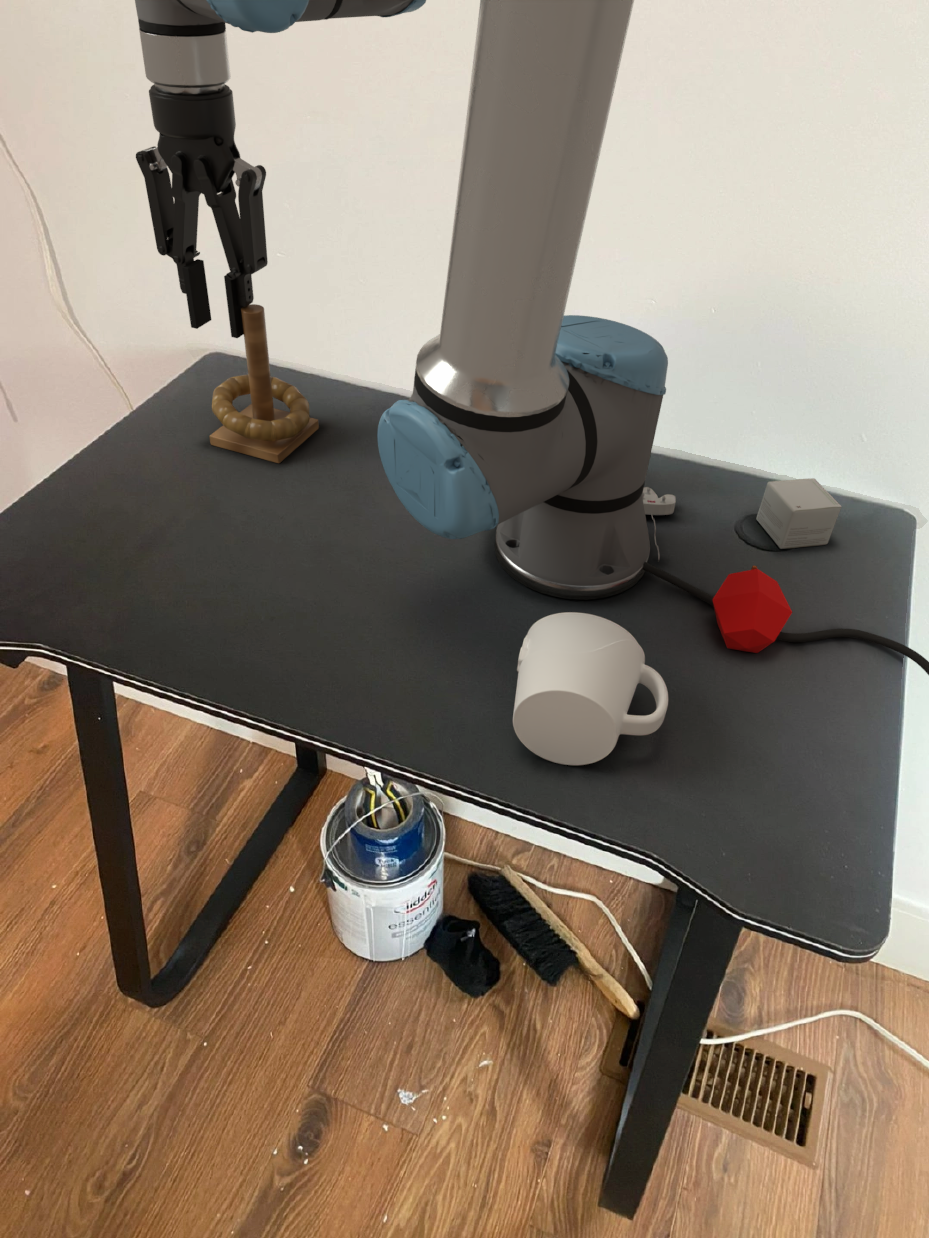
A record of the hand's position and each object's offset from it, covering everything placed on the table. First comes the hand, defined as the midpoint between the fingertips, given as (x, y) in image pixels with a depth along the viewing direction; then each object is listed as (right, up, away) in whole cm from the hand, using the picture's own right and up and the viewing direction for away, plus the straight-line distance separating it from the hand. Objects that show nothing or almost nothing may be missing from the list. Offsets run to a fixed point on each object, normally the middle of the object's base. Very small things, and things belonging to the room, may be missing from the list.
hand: (221, 328), depth 100 cm
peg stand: (+3, -10, +7) cm, 13 cm away
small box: (+61, -23, -3) cm, 65 cm away
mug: (+36, -40, -25) cm, 60 cm away
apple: (+52, -33, -16) cm, 63 cm away
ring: (+3, -8, +4) cm, 9 cm away
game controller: (+46, -22, -3) cm, 51 cm away
